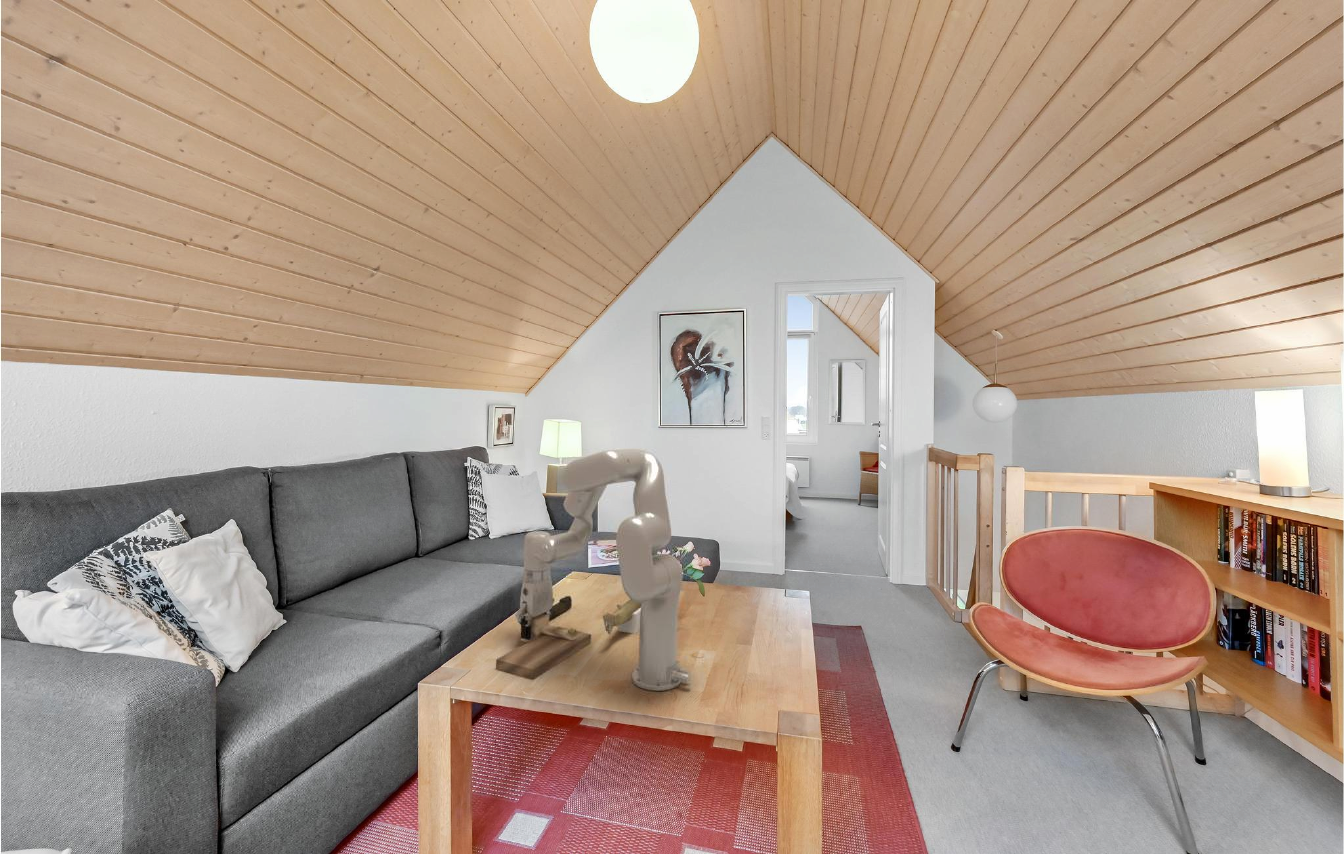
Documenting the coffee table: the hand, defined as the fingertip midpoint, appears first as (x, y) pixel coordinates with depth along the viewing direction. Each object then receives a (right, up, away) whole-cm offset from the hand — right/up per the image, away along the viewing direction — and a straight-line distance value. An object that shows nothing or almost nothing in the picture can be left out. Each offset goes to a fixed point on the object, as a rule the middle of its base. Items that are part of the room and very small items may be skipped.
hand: (534, 633), depth 161 cm
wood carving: (+27, -3, +9) cm, 28 cm away
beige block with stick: (+5, -2, -2) cm, 6 cm away
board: (+6, -2, -10) cm, 12 cm away
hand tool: (+1, -2, +20) cm, 20 cm away
